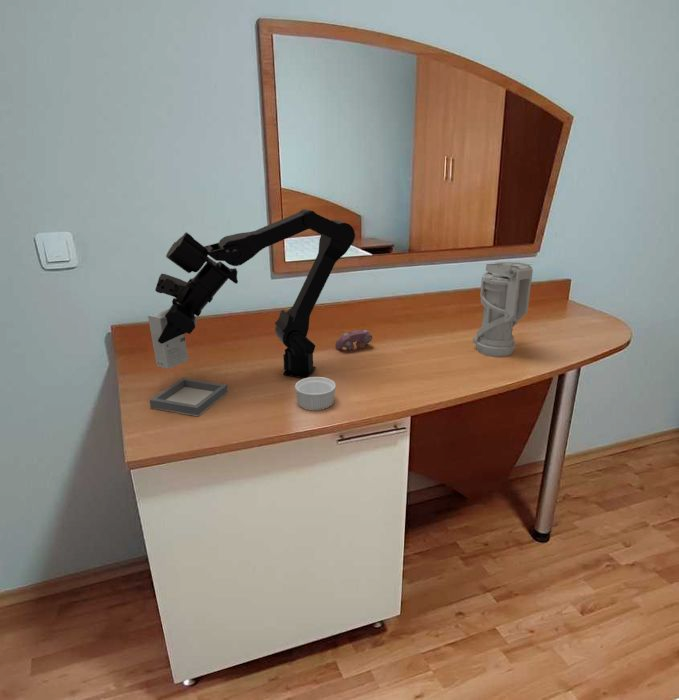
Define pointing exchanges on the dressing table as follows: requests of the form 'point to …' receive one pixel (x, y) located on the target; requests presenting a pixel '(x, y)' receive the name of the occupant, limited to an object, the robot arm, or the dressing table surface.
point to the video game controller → (354, 339)
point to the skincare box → (166, 343)
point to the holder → (189, 396)
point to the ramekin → (315, 392)
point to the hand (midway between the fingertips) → (162, 336)
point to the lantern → (502, 306)
